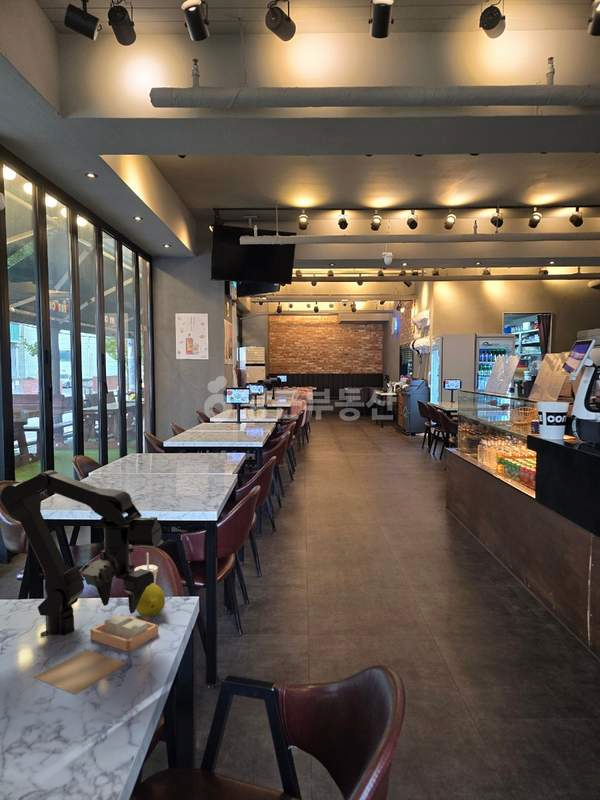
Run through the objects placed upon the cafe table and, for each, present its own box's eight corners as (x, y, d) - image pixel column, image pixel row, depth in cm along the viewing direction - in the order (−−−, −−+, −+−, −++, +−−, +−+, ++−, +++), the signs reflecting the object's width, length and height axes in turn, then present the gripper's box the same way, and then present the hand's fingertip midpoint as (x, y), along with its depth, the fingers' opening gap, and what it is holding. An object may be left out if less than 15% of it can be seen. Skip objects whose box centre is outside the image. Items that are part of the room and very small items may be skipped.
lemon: (136, 608, 147) (135, 579, 146) (165, 605, 148) (165, 577, 148) (132, 626, 136) (131, 595, 136) (164, 623, 138) (163, 592, 137)
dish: (90, 643, 128) (90, 629, 128) (121, 626, 136) (121, 614, 136) (128, 655, 122) (127, 641, 121) (158, 638, 130) (158, 624, 130)
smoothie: (151, 608, 146) (150, 557, 146) (130, 606, 148) (129, 555, 148) (162, 599, 153) (162, 550, 152) (142, 597, 154) (141, 548, 154)
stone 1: (104, 637, 129) (104, 620, 129) (117, 630, 133) (117, 614, 132) (116, 641, 127) (116, 624, 127) (129, 633, 131) (129, 617, 131)
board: (33, 681, 111) (33, 677, 111) (86, 653, 123) (86, 649, 123) (75, 699, 105) (75, 694, 105) (127, 668, 116) (126, 663, 116)
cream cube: (122, 643, 126) (121, 626, 126) (135, 635, 130) (134, 619, 130) (134, 647, 124) (134, 630, 124) (147, 639, 128) (147, 623, 128)
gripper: (62, 548, 127) (64, 613, 128) (117, 561, 118) (119, 631, 119) (101, 536, 137) (102, 596, 138) (154, 547, 128) (156, 612, 128)
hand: (118, 609), depth 130 cm, fingers open, 9 cm apart
